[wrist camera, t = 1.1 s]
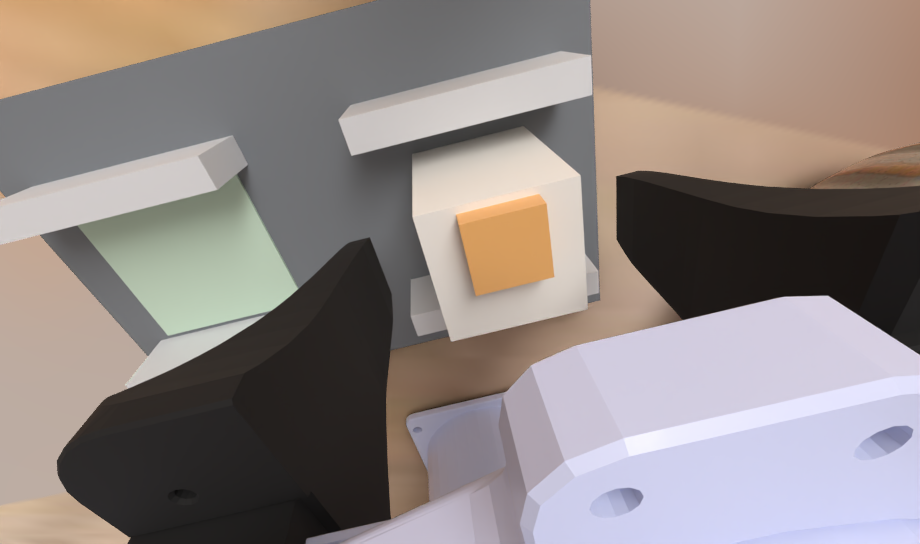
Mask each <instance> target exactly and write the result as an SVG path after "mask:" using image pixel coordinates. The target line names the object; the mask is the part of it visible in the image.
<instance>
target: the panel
mask: <svg viewBox="0 0 920 544" xmlns="http://www.w3.org/2000/svg"><path fill="white" fill-rule="evenodd" d="M521 126H524V127H525V128H526V129H527V130H529V131H530V132H531V133H532V134H533V135H534V136H536V137H537V138H538V139H539V140H540V141H541V142H543V143H544V144H545V145H546V146H547V147H548V148H550V149H551V150H552V151H553V152H554V153H555V154H557V155H558V156H559V157H560V158H561V159H562V160H563V161H565V162H566V163H567V164H568V165H569V166H570V167H572V168H573V169H574V170H575V171H576V172H577V173H579V174H580V175H581V190H582V209H583V227H584V245H585V264H586V282H587V300H588V303H591V302H595V301H599V300H600V283H599V252H598V222H597V192H596V162H595V132H594V101H593V71H592V41H591V13H590V0H376V1H373V2H369V3H365V4H361V5H357V6H354V7H350V8H346V9H342V10H338V11H335V12H331V13H327V14H323V15H319V16H316V17H312V18H308V19H304V20H300V21H297V22H293V23H289V24H285V25H281V26H278V27H274V28H270V29H266V30H262V31H259V32H255V33H251V34H247V35H243V36H240V37H236V38H232V39H228V40H224V41H221V42H217V43H213V44H209V45H205V46H202V47H198V48H194V49H190V50H186V51H183V52H179V53H175V54H171V55H167V56H164V57H160V58H156V59H152V60H148V61H145V62H141V63H137V64H133V65H129V66H126V67H122V68H118V69H114V70H110V71H107V72H103V73H99V74H95V75H91V76H88V77H84V78H80V79H76V80H72V81H69V82H65V83H61V84H57V85H53V86H50V87H46V88H42V89H38V90H34V91H31V92H27V93H23V94H19V95H16V96H12V97H8V98H4V99H0V191H1V192H2V193H3V195H4V196H5V197H6V198H3V199H1V200H0V245H1V244H5V243H9V242H13V241H17V240H21V239H25V238H29V237H33V236H37V235H40V236H41V237H42V238H43V239H44V240H45V242H46V243H47V244H48V245H49V246H50V247H51V248H52V249H53V251H54V252H55V253H56V254H57V255H58V256H59V257H60V258H61V259H62V261H63V262H64V263H65V264H66V265H67V266H68V267H69V268H70V270H71V271H72V272H73V273H74V274H75V275H76V276H77V277H78V278H79V280H80V281H81V282H82V283H83V284H84V285H85V286H86V287H87V288H88V290H89V291H90V292H91V293H92V294H93V295H94V296H95V297H96V299H97V300H98V301H99V302H100V303H101V304H102V305H103V306H104V307H105V309H106V310H107V311H108V312H109V313H110V314H111V315H112V316H113V318H114V319H115V320H116V321H117V322H118V323H119V324H120V325H121V327H122V328H123V329H124V330H125V331H126V332H127V333H128V334H129V335H130V337H131V338H132V339H133V340H134V341H135V342H136V343H137V344H138V346H139V347H140V348H141V349H142V350H143V351H144V352H145V353H146V355H147V356H148V357H147V358H146V360H145V361H144V362H143V364H142V365H141V366H140V367H139V368H138V369H137V371H136V372H135V373H134V374H133V376H132V377H131V378H130V379H129V381H128V382H127V383H126V384H125V386H126V387H127V388H128V389H129V388H131V387H133V386H135V385H138V384H140V383H142V382H144V381H147V380H149V379H151V378H154V377H156V376H158V375H160V374H163V373H165V372H167V371H169V370H171V369H173V368H175V367H177V366H179V365H181V364H183V363H185V362H187V361H189V360H191V359H193V358H195V357H197V356H199V355H201V354H203V353H205V352H207V351H208V350H210V349H212V348H214V347H216V346H217V345H219V344H221V343H223V342H224V341H226V340H228V339H229V338H231V337H232V336H234V335H236V334H237V333H239V332H240V331H242V330H244V329H245V328H247V327H248V326H250V325H252V324H253V323H255V322H256V321H258V320H259V319H261V318H262V317H263V316H265V315H266V314H268V313H269V312H270V311H272V310H273V309H274V308H276V307H277V306H278V305H280V304H281V303H282V302H284V301H285V300H286V299H287V298H288V297H290V296H291V295H292V294H293V293H294V292H295V291H296V290H298V289H299V288H300V287H301V286H302V285H303V284H304V283H305V282H307V281H308V280H309V279H310V278H311V277H312V276H313V275H314V274H315V273H316V272H317V271H318V270H319V269H320V268H321V267H323V266H324V265H325V264H326V263H327V262H328V261H329V260H330V259H331V258H332V257H333V256H334V255H335V254H336V253H337V252H338V251H339V250H340V249H341V248H342V247H344V246H345V245H346V244H348V243H349V242H352V241H357V240H361V239H365V238H369V237H370V239H371V242H372V244H373V247H374V249H375V252H376V254H377V257H378V260H379V262H380V265H381V267H382V270H383V273H384V275H385V278H386V280H387V283H388V285H389V288H390V291H391V293H392V306H393V329H392V339H391V349H390V350H394V349H398V348H402V347H406V346H411V345H415V344H419V343H423V342H427V341H432V340H436V339H440V338H444V337H448V336H449V333H448V330H447V327H446V324H445V320H444V317H443V314H442V311H441V307H440V304H439V301H438V298H437V295H436V291H435V288H434V285H433V282H432V278H431V275H430V272H429V269H428V266H427V262H426V259H425V256H424V253H423V249H422V246H421V243H420V240H419V237H418V233H417V230H416V227H415V224H414V221H413V217H412V154H414V153H418V152H422V151H426V150H430V149H434V148H438V147H442V146H446V145H450V144H454V143H458V142H462V141H466V140H470V139H474V138H478V137H482V136H486V135H490V134H494V133H498V132H502V131H506V130H509V129H513V128H517V127H521Z"/></svg>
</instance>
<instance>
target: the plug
mask: <svg viewBox="0 0 920 544" xmlns="http://www.w3.org/2000/svg"><path fill="white" fill-rule="evenodd" d="M412 217H413V221H414V224H415V227H416V230H417V233H418V237H419V240H420V243H421V246H422V249H423V253H424V256H425V259H426V262H427V266H428V269H429V272H430V275H431V278H432V282H433V285H434V288H435V291H436V295H437V298H438V301H439V304H440V307H441V311H442V314H443V317H444V320H445V324H446V327H447V330H448V333H449V336H450V340H451V342H453V341H457V340H461V339H465V338H470V337H474V336H478V335H482V334H486V333H491V332H495V331H499V330H503V329H507V328H512V327H516V326H520V325H524V324H528V323H533V322H537V321H541V320H545V319H549V318H553V317H558V316H562V315H566V314H570V313H574V312H579V311H583V310H587V309H588V300H587V282H586V264H585V245H584V227H583V209H582V190H581V175H580V174H579V173H577V172H576V171H575V170H574V169H573V168H572V167H570V166H569V165H568V164H567V163H566V162H565V161H563V160H562V159H561V158H560V157H559V156H558V155H557V154H555V153H554V152H553V151H552V150H551V149H550V148H548V147H547V146H546V145H545V144H544V143H543V142H541V141H540V140H539V139H538V138H537V137H536V136H534V135H533V134H532V133H531V132H530V131H529V130H527V129H526V128H525V127H524V126H521V127H517V128H513V129H509V130H506V131H502V132H498V133H494V134H490V135H486V136H482V137H478V138H474V139H470V140H466V141H462V142H458V143H454V144H450V145H446V146H442V147H438V148H434V149H430V150H426V151H422V152H418V153H414V154H412Z"/></svg>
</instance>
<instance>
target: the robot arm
mask: <svg viewBox="0 0 920 544" xmlns="http://www.w3.org/2000/svg"><path fill="white" fill-rule="evenodd" d="M616 186H617V241H618V242H619V244H620V246H621V247H622V249H623V251H624V252H625V254H626V255H627V257H628V258H629V260H630V261H631V263H632V264H633V265H634V266H635V268H636V269H637V270H638V271H639V272H640V273H641V274H642V275H643V277H644V278H645V279H646V280H647V281H648V282H649V283H650V284H651V285H652V286H653V288H654V289H655V290H656V291H657V292H658V293H659V294H660V295H661V296H662V297H663V298H664V300H665V301H666V302H667V303H668V304H669V305H670V306H671V307H672V308H673V309H674V310H675V311H676V313H677V314H678V315H679V316H680V317H681V318H682V321H677V322H673V323H669V324H665V325H660V326H656V327H652V328H648V329H643V330H639V331H635V332H631V333H626V334H622V335H618V336H614V337H609V338H605V339H601V340H597V341H592V342H588V343H584V344H580V345H575V346H572V347H570V348H568V349H565V350H563V351H561V352H558V353H556V354H554V355H552V356H549V357H547V358H545V359H543V360H540V361H538V362H536V363H534V364H532V365H531V366H530V367H529V368H528V369H527V370H526V371H525V372H524V373H523V374H522V376H521V377H520V378H519V379H518V380H517V381H516V382H515V383H514V384H513V385H512V386H511V387H510V388H509V389H508V391H507V392H503V393H499V394H494V395H490V396H486V397H482V398H477V399H473V400H469V401H464V402H460V403H456V404H452V405H447V406H443V407H439V408H435V409H430V410H426V411H422V412H418V413H413V414H410V415H409V416H408V417H407V418H406V426H407V428H408V430H409V433H410V435H411V437H412V439H413V441H414V443H415V445H416V448H417V450H418V452H419V454H420V456H421V458H422V461H423V463H424V465H425V467H426V469H427V471H428V483H429V502H427V503H425V504H423V505H421V506H418V507H416V508H414V509H412V510H410V511H408V512H405V513H403V514H401V515H399V516H397V517H395V518H392V519H391V515H390V500H389V482H388V464H387V434H386V388H387V377H388V367H389V358H390V349H391V339H392V329H393V306H392V293H391V291H390V288H389V285H388V283H387V280H386V278H385V275H384V273H383V270H382V267H381V265H380V262H379V260H378V257H377V254H376V252H375V249H374V247H373V244H372V242H371V239H370V237H369V238H365V239H361V240H357V241H352V242H349V243H348V244H346V245H345V246H344V247H342V248H341V249H340V250H339V251H338V252H337V253H336V254H335V255H334V256H333V257H332V258H331V259H330V260H329V261H328V262H327V263H326V264H325V265H324V266H323V267H321V268H320V269H319V270H318V271H317V272H316V273H315V274H314V275H313V276H312V277H311V278H310V279H309V280H308V281H307V282H305V283H304V284H303V285H302V286H301V287H300V288H299V289H298V290H296V291H295V292H294V293H293V294H292V295H291V296H290V297H288V298H287V299H286V300H285V301H284V302H282V303H281V304H280V305H278V306H277V307H276V308H274V309H273V310H272V311H270V312H269V313H268V314H266V315H265V316H263V317H262V318H261V319H259V320H258V321H256V322H255V323H253V324H252V325H250V326H248V327H247V328H245V329H244V330H242V331H240V332H239V333H237V334H236V335H234V336H232V337H231V338H229V339H228V340H226V341H224V342H223V343H221V344H219V345H217V346H216V347H214V348H212V349H210V350H208V351H207V352H205V353H203V354H201V355H199V356H197V357H195V358H193V359H191V360H189V361H187V362H185V363H183V364H181V365H179V366H177V367H175V368H173V369H171V370H169V371H167V372H165V373H163V374H160V375H158V376H156V377H154V378H151V379H149V380H147V381H144V382H142V383H140V384H138V385H135V386H133V387H131V388H129V389H127V390H124V391H122V392H119V393H117V394H114V395H112V396H110V397H108V398H106V399H105V400H104V401H103V402H102V403H101V404H100V405H99V406H98V407H97V409H96V410H95V411H94V412H93V414H92V415H91V416H90V417H89V418H88V419H87V421H86V422H85V423H84V425H83V426H82V427H81V428H80V429H79V431H78V432H77V433H76V434H75V435H74V436H73V438H72V439H71V440H70V441H69V443H68V444H67V445H66V446H65V447H64V449H63V451H62V453H61V455H60V456H59V458H58V460H57V471H58V476H59V479H60V480H61V482H62V484H63V485H64V487H65V489H66V491H67V492H68V493H69V494H70V495H71V496H73V497H74V498H75V499H76V500H77V501H78V502H79V503H81V504H82V505H84V506H85V507H86V508H88V509H89V510H91V511H92V512H94V513H95V514H97V515H98V516H99V517H101V518H102V519H104V520H105V521H107V522H108V523H110V524H111V525H112V526H114V527H115V528H117V529H118V530H120V531H121V532H123V533H124V534H125V535H127V536H128V537H131V538H130V540H129V542H128V544H920V186H908V187H893V188H868V189H801V188H782V187H765V186H754V185H745V184H736V183H728V182H721V181H713V180H707V179H700V178H694V177H688V176H681V175H675V174H669V173H661V172H653V171H636V172H632V173H628V174H624V175H620V176H616Z"/></svg>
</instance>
